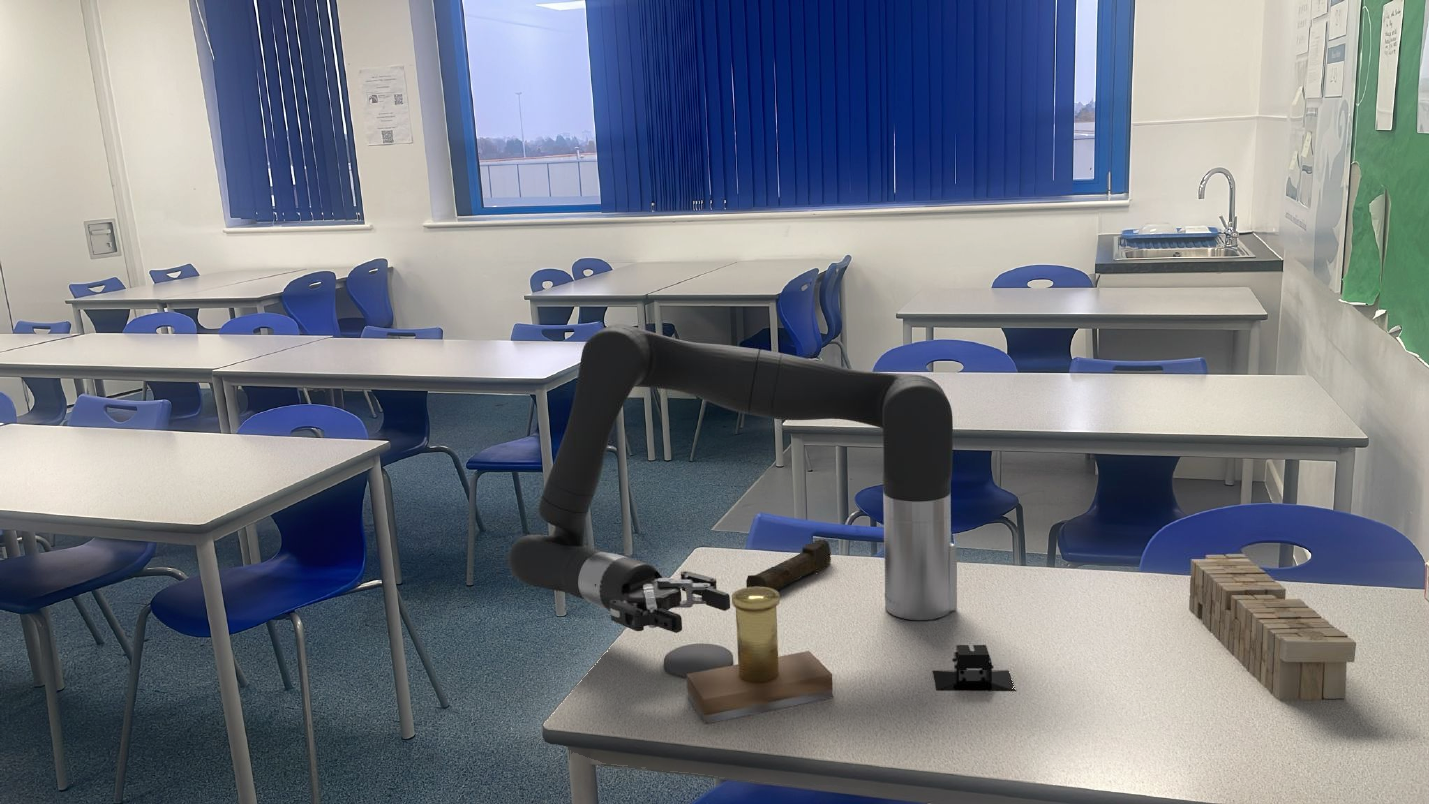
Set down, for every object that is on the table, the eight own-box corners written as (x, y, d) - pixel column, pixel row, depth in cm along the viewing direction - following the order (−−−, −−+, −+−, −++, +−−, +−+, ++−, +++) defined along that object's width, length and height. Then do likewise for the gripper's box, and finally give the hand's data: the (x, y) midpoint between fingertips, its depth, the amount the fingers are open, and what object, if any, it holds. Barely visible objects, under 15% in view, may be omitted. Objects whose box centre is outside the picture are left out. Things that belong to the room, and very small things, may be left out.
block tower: (1184, 613, 149) (1280, 708, 120) (1185, 555, 147) (1283, 637, 119) (1242, 611, 148) (1353, 706, 120) (1244, 553, 147) (1356, 635, 118)
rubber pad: (720, 643, 144) (720, 638, 144) (742, 670, 135) (742, 666, 135) (656, 654, 141) (655, 650, 141) (674, 683, 133) (674, 679, 133)
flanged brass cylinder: (772, 660, 131) (769, 583, 129) (789, 679, 126) (786, 600, 124) (729, 668, 129) (725, 591, 127) (744, 688, 124) (740, 607, 122)
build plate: (1019, 671, 133) (1020, 637, 132) (1030, 699, 126) (1030, 663, 125) (918, 671, 134) (918, 637, 133) (923, 699, 127) (923, 663, 126)
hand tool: (765, 604, 157) (764, 575, 156) (745, 597, 160) (744, 569, 159) (845, 567, 170) (844, 540, 169) (825, 561, 173) (824, 535, 172)
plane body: (809, 673, 134) (809, 650, 133) (832, 697, 127) (832, 674, 127) (687, 697, 129) (686, 674, 129) (705, 723, 123) (704, 699, 122)
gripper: (575, 573, 138) (661, 602, 127) (656, 543, 148) (742, 568, 137) (580, 627, 140) (665, 661, 128) (659, 594, 149) (744, 623, 138)
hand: (704, 613), depth 133 cm, fingers open, 8 cm apart
